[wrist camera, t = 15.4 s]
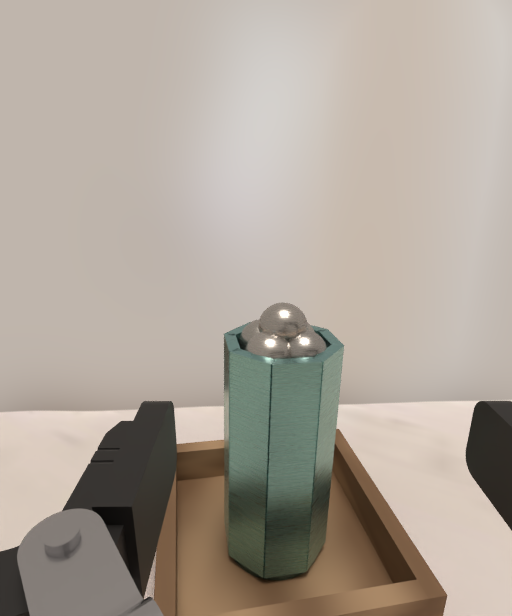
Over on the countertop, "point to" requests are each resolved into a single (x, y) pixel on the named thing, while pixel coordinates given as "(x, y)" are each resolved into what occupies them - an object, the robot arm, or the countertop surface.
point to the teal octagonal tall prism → (279, 440)
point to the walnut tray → (311, 584)
